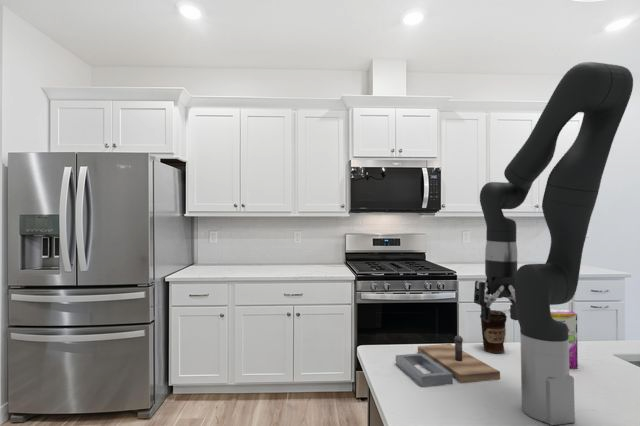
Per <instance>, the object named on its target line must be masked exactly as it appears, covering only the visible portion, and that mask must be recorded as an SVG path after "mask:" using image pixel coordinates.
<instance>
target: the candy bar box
mask: <svg viewBox="0 0 640 426" xmlns="http://www.w3.org/2000/svg"><path fill="white" fill-rule="evenodd" d="M550 312H551V317H552V318H553V319H554V320H556V321H559V322H562V323H564V324H565V325H566V326H567V327H568V336H569V338H568V339H569V369H578V366H579V365H578V313H576V312H574V311H571V310H568V309H551V308H550Z"/></svg>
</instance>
